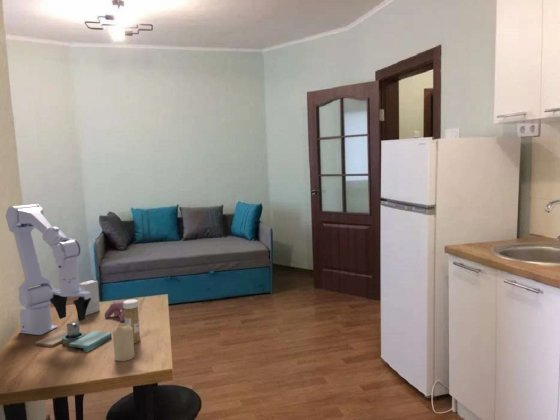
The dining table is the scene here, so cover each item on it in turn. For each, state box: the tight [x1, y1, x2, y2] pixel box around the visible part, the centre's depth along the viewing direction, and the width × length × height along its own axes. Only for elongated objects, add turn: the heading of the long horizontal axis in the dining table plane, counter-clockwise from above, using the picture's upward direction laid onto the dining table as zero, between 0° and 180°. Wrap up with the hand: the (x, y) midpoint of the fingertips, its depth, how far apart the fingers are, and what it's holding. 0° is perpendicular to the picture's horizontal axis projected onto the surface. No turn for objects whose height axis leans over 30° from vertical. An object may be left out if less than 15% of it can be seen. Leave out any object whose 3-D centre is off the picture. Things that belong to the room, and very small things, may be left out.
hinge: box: [34, 329, 113, 353], centre depth 149 cm, size 21×11×2 cm, turn 72°
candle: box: [112, 322, 135, 362], centre depth 136 cm, size 6×6×10 cm
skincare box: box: [79, 279, 101, 316], centre depth 177 cm, size 6×4×12 cm
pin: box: [66, 321, 81, 339], centre depth 149 cm, size 4×4×6 cm
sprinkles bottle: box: [122, 298, 141, 344], centre depth 147 cm, size 5×5×14 cm
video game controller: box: [104, 300, 125, 322], centre depth 171 cm, size 10×5×7 cm, turn 59°
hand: (72, 318), depth 149 cm, fingers open, 7 cm apart
